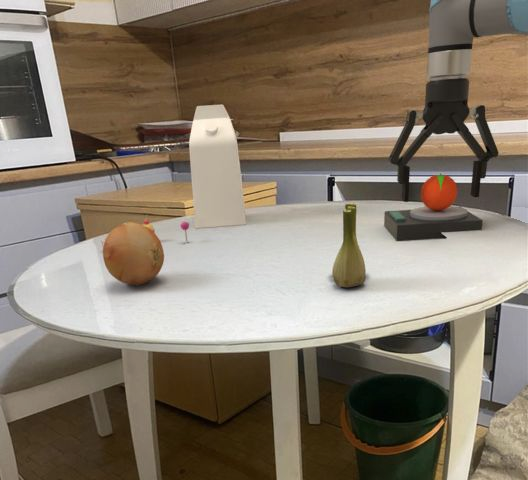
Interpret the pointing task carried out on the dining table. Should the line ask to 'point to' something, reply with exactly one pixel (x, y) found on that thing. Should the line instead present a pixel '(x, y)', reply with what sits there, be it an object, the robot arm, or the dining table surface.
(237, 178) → the milk
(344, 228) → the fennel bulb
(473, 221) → the scale
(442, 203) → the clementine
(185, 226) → the candy
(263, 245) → the dining table surface
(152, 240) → the onion
